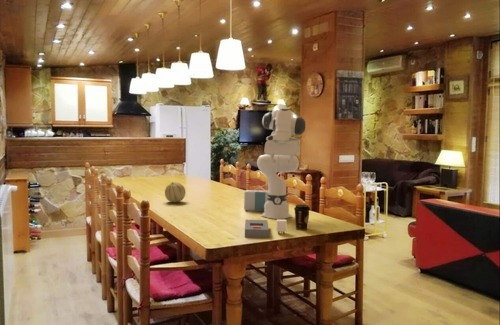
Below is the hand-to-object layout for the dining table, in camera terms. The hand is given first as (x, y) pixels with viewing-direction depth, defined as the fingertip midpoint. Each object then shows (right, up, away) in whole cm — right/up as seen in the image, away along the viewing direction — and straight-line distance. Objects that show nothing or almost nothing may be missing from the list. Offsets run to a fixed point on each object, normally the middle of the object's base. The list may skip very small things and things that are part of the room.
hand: (281, 163), depth 223 cm
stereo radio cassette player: (-11, -32, +52) cm, 62 cm away
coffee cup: (+11, -36, +3) cm, 38 cm away
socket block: (-14, -36, -6) cm, 39 cm away
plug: (-1, -37, -8) cm, 37 cm away
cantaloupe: (-71, -29, +75) cm, 108 cm away
